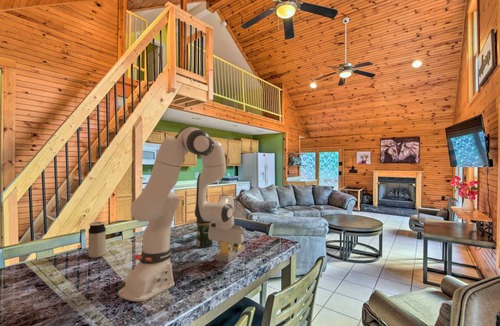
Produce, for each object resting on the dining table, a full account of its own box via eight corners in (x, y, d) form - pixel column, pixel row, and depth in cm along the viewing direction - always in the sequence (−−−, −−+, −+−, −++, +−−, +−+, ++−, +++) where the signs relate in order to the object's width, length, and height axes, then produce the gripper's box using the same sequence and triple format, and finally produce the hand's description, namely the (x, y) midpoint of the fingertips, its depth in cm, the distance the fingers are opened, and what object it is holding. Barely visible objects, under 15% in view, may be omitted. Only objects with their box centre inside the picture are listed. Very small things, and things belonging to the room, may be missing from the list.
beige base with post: (228, 263, 127) (228, 245, 126) (215, 260, 129) (215, 243, 129) (245, 249, 147) (245, 234, 147) (233, 247, 150) (234, 232, 150)
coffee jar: (208, 242, 158) (208, 214, 158) (214, 246, 152) (214, 216, 151) (194, 245, 153) (194, 215, 152) (199, 249, 146) (199, 218, 146)
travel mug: (95, 258, 130) (95, 225, 130) (84, 256, 133) (85, 224, 133) (108, 253, 138) (108, 221, 138) (98, 251, 140) (98, 220, 140)
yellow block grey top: (230, 252, 133) (231, 240, 133) (227, 255, 129) (227, 242, 129) (224, 251, 135) (224, 239, 135) (220, 254, 130) (220, 241, 130)
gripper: (245, 224, 131) (245, 250, 131) (212, 221, 138) (212, 245, 138) (240, 227, 125) (240, 254, 125) (206, 223, 132) (206, 248, 133)
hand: (225, 249), depth 132 cm, fingers closed on yellow block grey top, 4 cm apart
